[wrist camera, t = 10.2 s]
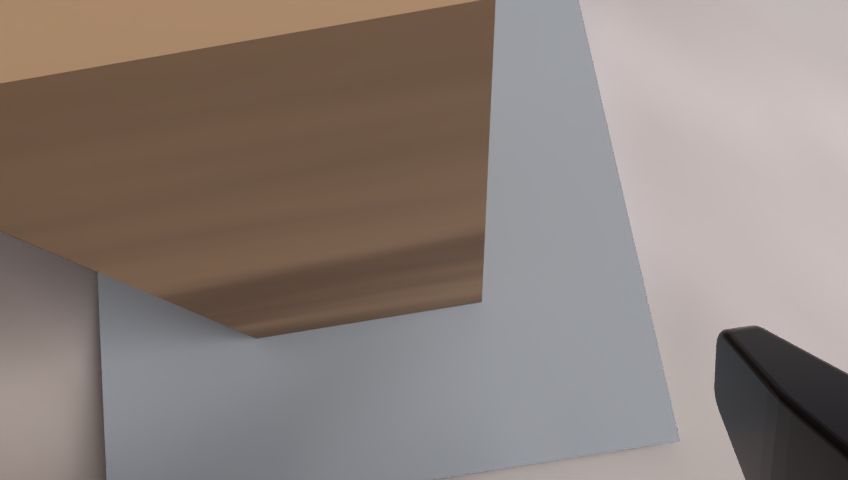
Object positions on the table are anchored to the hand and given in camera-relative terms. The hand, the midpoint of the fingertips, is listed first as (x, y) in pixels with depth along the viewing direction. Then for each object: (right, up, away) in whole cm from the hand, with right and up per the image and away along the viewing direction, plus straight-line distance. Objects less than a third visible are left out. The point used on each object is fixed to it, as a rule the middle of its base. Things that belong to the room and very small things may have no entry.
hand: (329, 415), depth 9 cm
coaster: (0, +3, +9) cm, 9 cm away
